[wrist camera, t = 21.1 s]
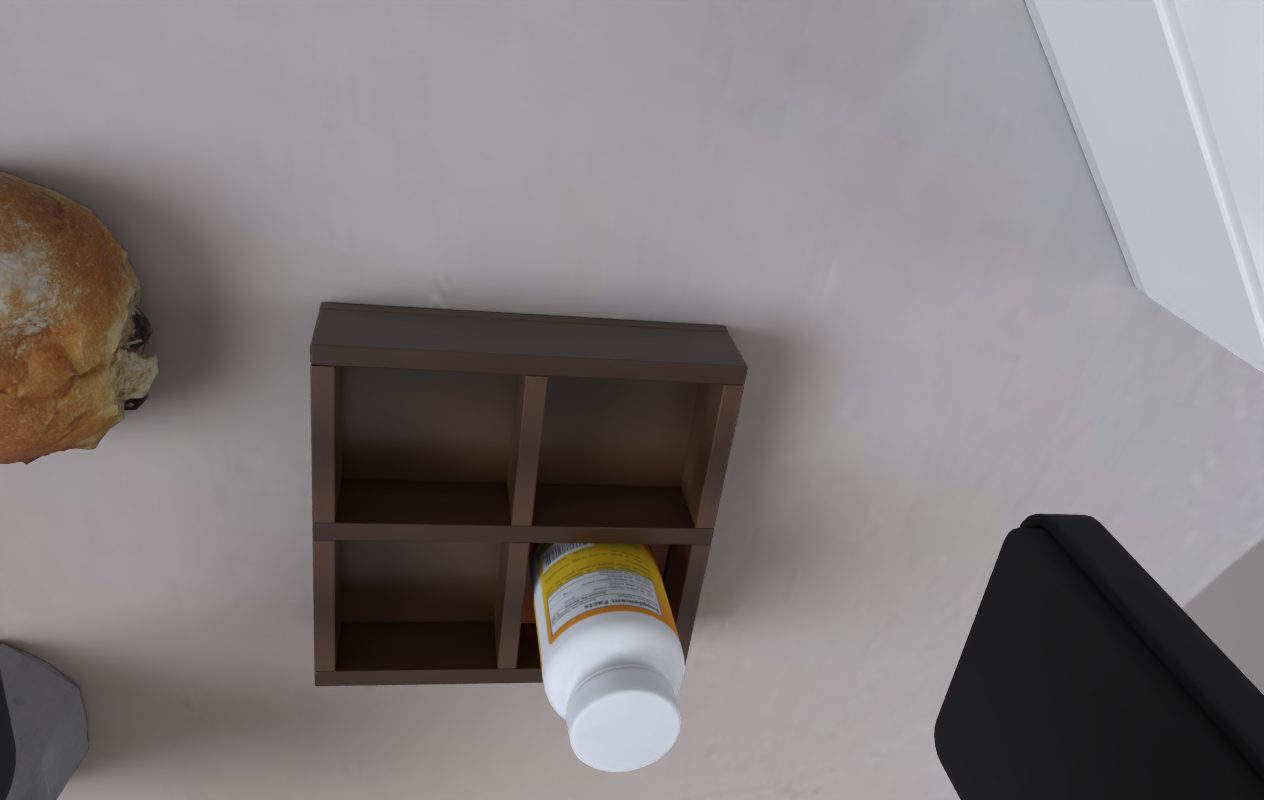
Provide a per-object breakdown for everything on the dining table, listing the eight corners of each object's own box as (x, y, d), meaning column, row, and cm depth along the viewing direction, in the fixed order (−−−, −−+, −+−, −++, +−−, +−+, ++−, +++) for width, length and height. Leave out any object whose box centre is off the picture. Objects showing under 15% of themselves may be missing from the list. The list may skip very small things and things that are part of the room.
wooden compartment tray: (320, 301, 37) (309, 344, 34) (725, 325, 40) (748, 366, 37) (323, 626, 44) (314, 686, 41) (666, 625, 48) (682, 681, 44)
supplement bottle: (628, 618, 46) (670, 794, 38) (513, 599, 44) (530, 778, 36) (670, 523, 44) (724, 688, 35) (550, 499, 42) (577, 665, 34)
